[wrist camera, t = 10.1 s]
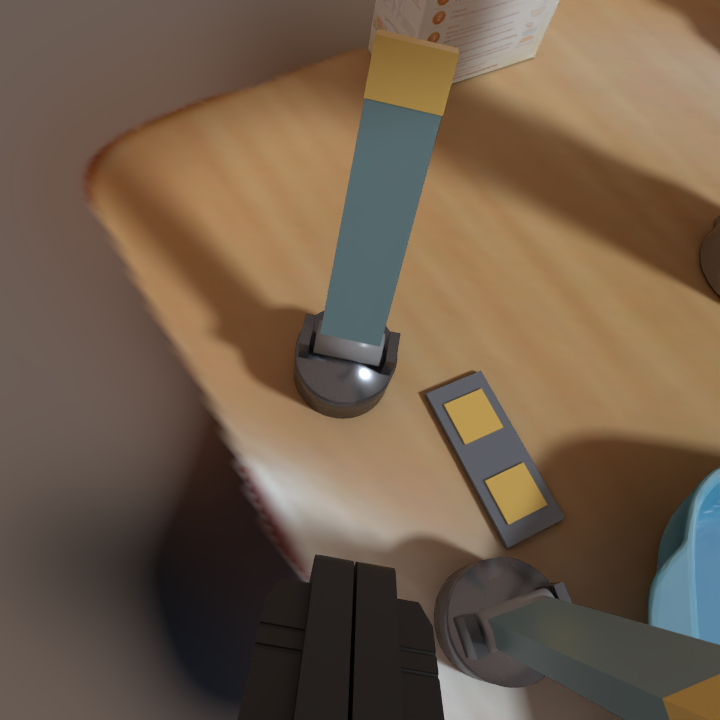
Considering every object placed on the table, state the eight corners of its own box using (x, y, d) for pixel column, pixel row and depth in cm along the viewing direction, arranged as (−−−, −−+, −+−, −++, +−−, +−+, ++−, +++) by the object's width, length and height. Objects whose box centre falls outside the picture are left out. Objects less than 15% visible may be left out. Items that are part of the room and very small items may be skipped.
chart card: (424, 395, 40) (426, 392, 40) (479, 372, 42) (481, 369, 41) (505, 548, 37) (509, 547, 36) (562, 519, 38) (566, 517, 37)
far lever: (377, 372, 36) (463, 56, 25) (311, 359, 35) (371, 34, 25) (378, 353, 37) (460, 47, 27) (316, 340, 37) (374, 27, 27)
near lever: (547, 623, 32) (880, 747, 15) (481, 648, 31) (756, 811, 14) (535, 585, 32) (847, 666, 15) (469, 609, 31) (724, 722, 14)
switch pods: (277, 354, 40) (277, 315, 35) (359, 317, 42) (370, 276, 37) (472, 706, 33) (507, 720, 28) (560, 642, 35) (607, 644, 30)
